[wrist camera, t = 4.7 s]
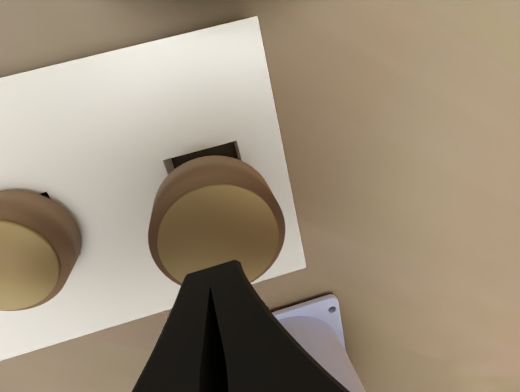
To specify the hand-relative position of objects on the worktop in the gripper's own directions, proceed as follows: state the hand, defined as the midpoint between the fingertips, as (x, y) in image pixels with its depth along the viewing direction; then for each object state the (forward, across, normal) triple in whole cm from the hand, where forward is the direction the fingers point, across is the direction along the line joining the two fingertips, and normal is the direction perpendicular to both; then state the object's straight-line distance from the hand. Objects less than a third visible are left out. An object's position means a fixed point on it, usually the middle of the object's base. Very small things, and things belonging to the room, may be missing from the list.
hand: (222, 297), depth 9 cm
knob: (+7, 0, 0) cm, 7 cm away
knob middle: (+10, +8, 0) cm, 13 cm away
